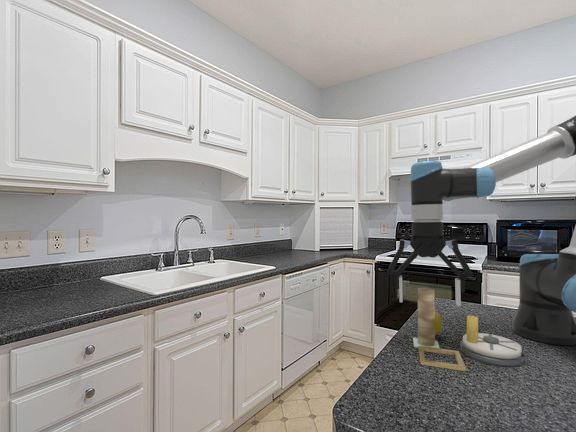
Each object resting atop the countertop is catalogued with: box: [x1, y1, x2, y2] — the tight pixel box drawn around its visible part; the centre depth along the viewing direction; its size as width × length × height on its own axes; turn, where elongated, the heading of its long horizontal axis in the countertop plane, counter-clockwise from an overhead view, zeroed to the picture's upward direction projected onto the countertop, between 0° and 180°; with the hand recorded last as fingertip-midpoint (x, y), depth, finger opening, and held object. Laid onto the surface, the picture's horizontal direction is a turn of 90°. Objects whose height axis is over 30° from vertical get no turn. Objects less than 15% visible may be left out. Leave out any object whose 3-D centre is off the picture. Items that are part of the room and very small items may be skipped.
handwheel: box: [462, 314, 522, 359], centre depth 77 cm, size 12×12×8 cm
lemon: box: [435, 310, 443, 336], centre depth 88 cm, size 6×6×8 cm
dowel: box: [417, 287, 436, 346], centre depth 82 cm, size 4×4×14 cm
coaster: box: [412, 337, 441, 349], centre depth 82 cm, size 6×6×1 cm
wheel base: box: [460, 340, 525, 368], centre depth 77 cm, size 13×13×1 cm
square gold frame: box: [417, 346, 467, 372], centre depth 74 cm, size 9×9×1 cm
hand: (428, 303), depth 82 cm, fingers open, 13 cm apart
